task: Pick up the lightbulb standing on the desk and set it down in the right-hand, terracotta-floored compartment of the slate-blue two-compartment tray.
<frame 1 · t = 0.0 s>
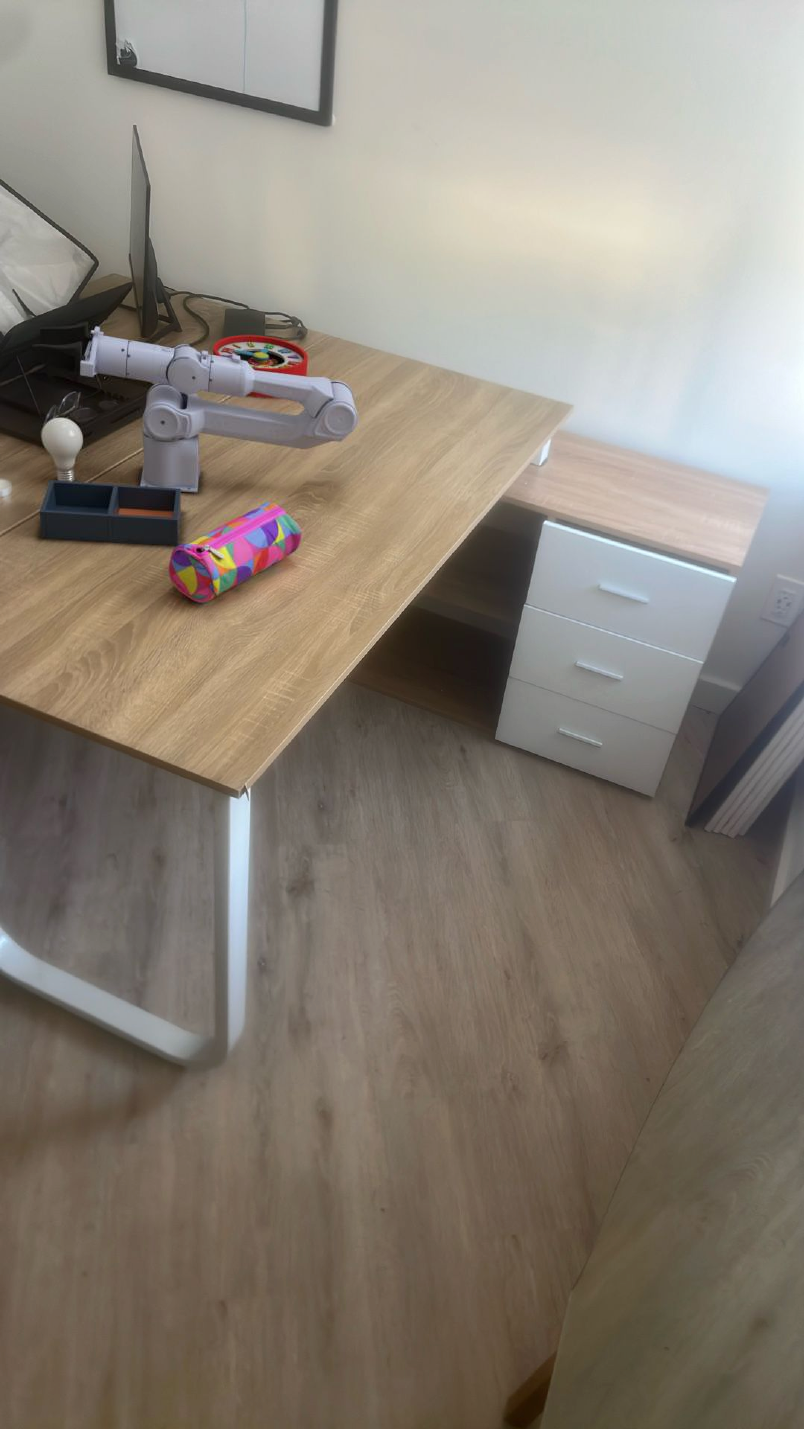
hand: (36, 343, 146), 22 cm above the table, tool horizontal, fingers open, 7 cm apart
pencil case: (235, 578, 143), on the table
organiser: (114, 525, 150), on the table
lightbulb: (66, 483, 158), on the table
toy clock: (259, 379, 205), on the table
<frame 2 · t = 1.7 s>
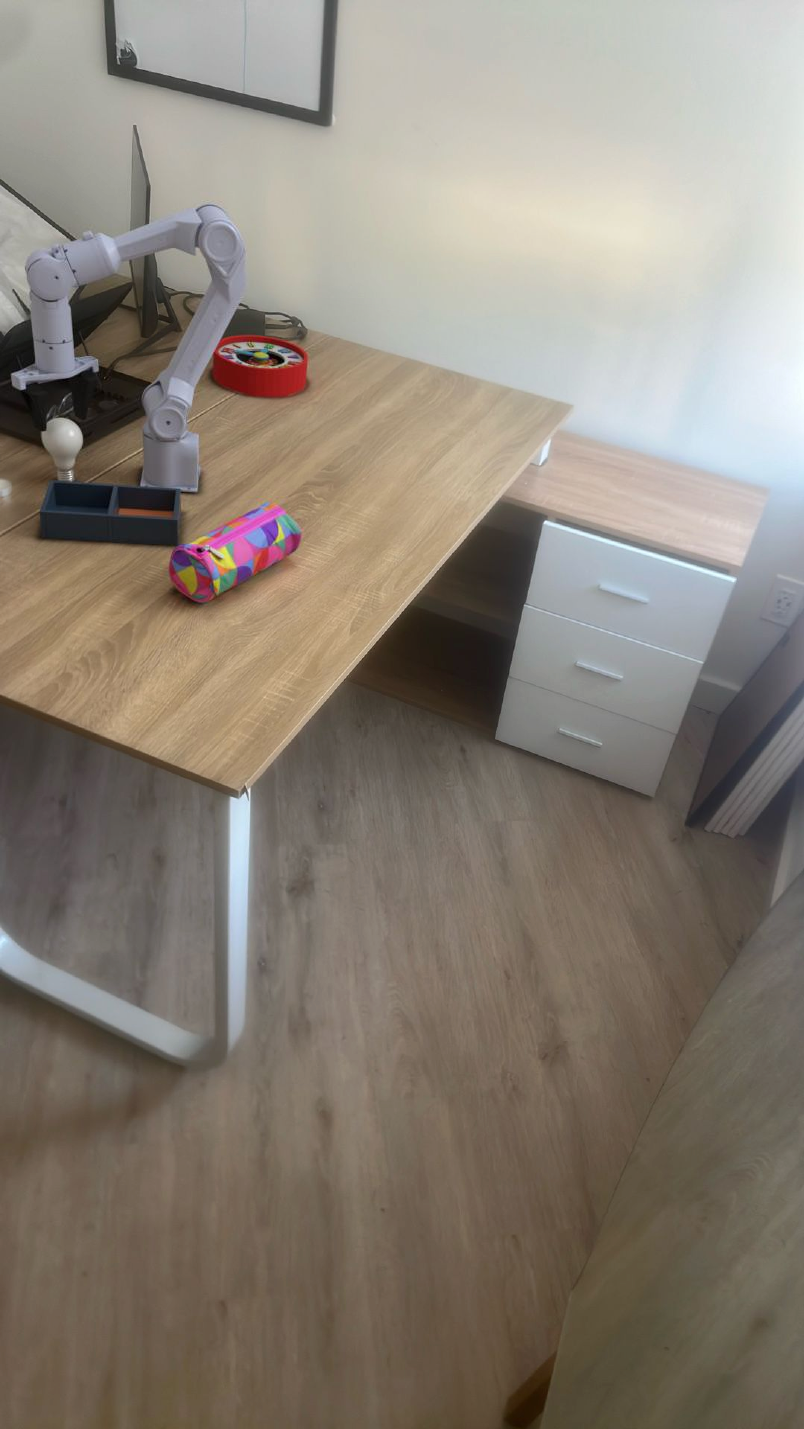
hand: (60, 423, 152), 10 cm above the table, tool pointing down, fingers open, 7 cm apart
nothing on the table moved.
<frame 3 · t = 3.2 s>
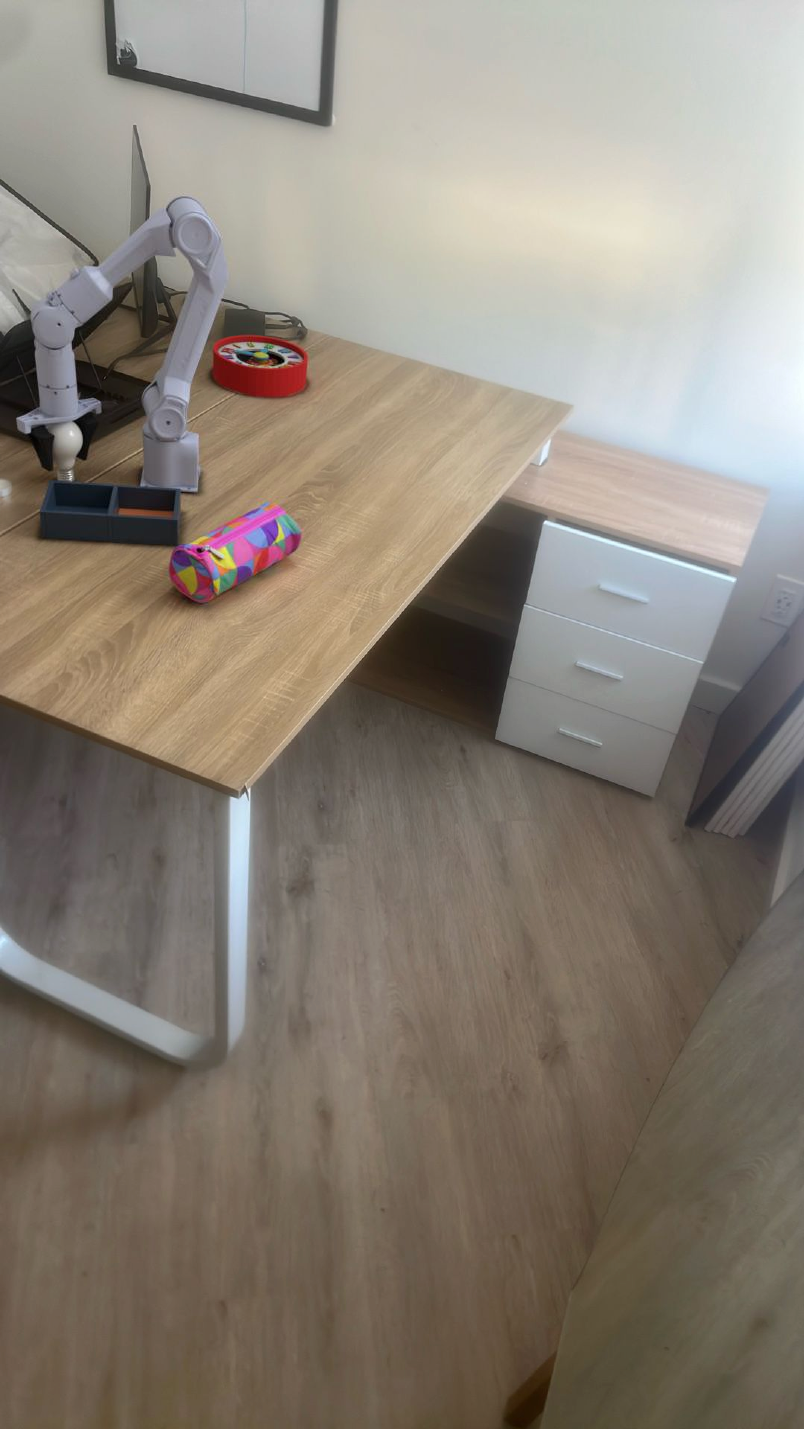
hand: (64, 463, 156), 3 cm above the table, tool pointing down, fingers closed on lightbulb, 6 cm apart
lightbulb: (66, 483, 158), on the table, touching gripper
everything else where it was.
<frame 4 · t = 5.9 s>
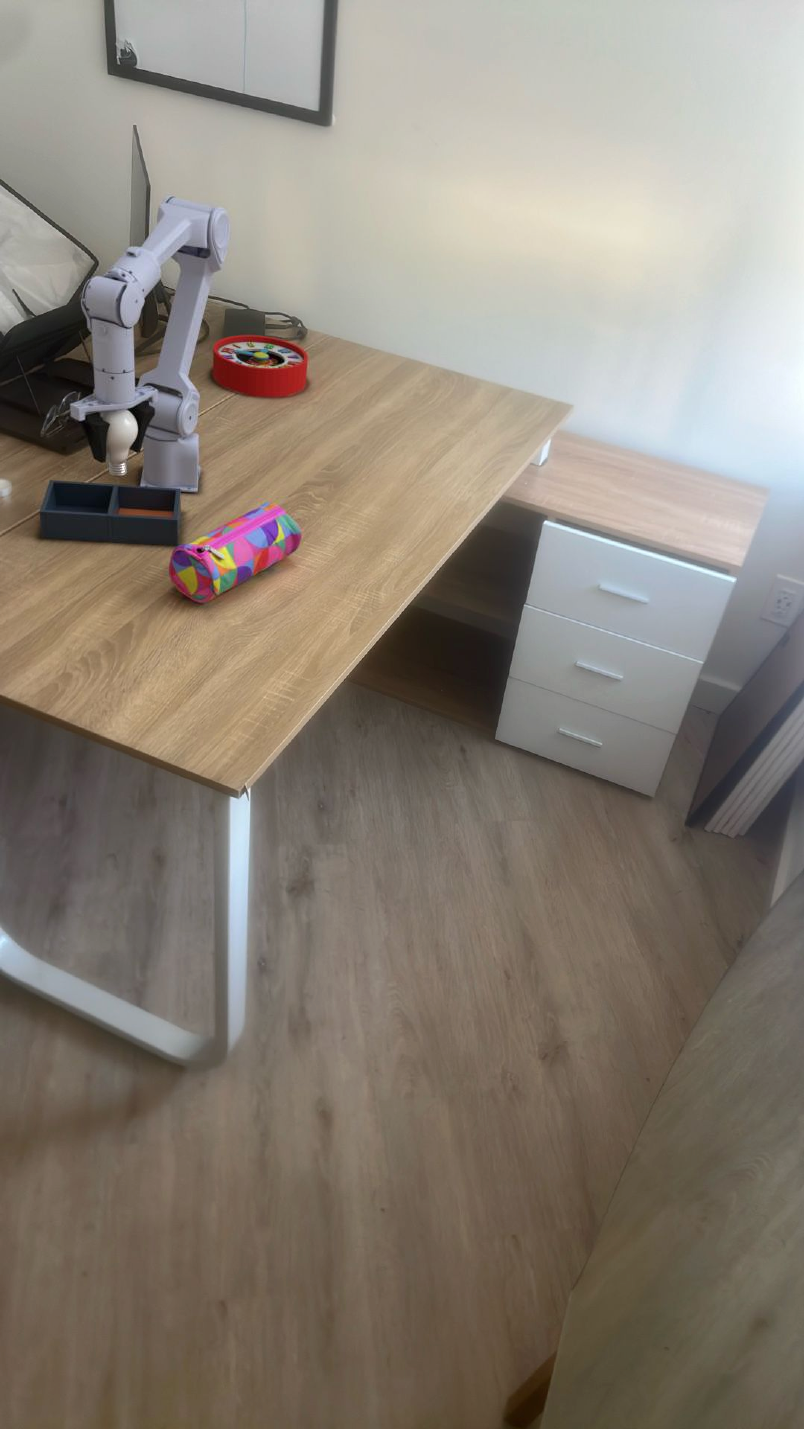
hand: (117, 455, 146), 10 cm above the table, tool pointing down, fingers closed on lightbulb, 6 cm apart
lightbulb: (118, 476, 148), point 7 cm above the table, touching gripper
everything else where it was.
when the fingers open (4 cm above the table, at t = 8.9 s): lightbulb stays where it is, resting on organiser.
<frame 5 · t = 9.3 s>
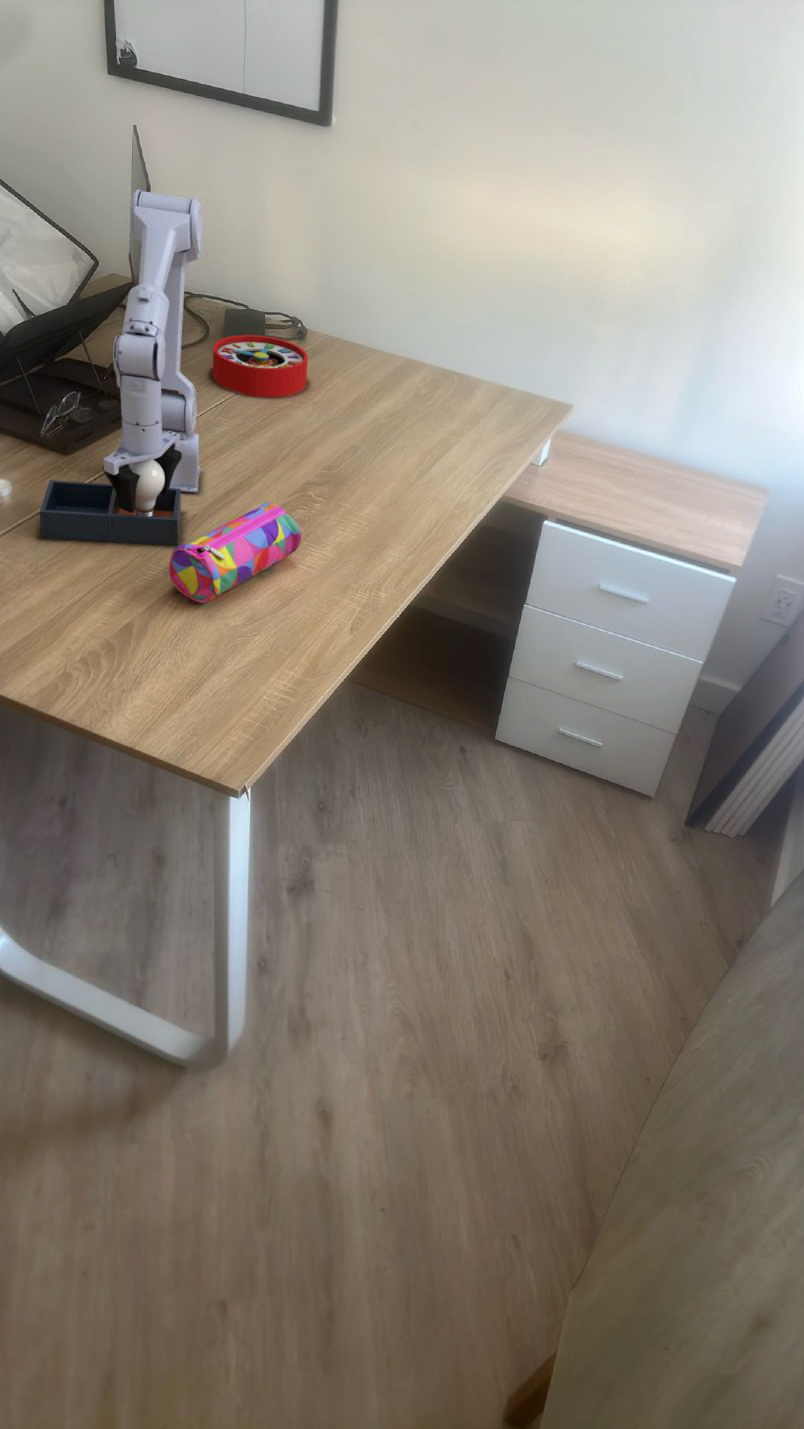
hand: (144, 501, 148), 4 cm above the table, tool pointing down, fingers open, 7 cm apart
lightbulb: (145, 524, 150), point 1 cm above the table, touching organiser
everything else where it was.
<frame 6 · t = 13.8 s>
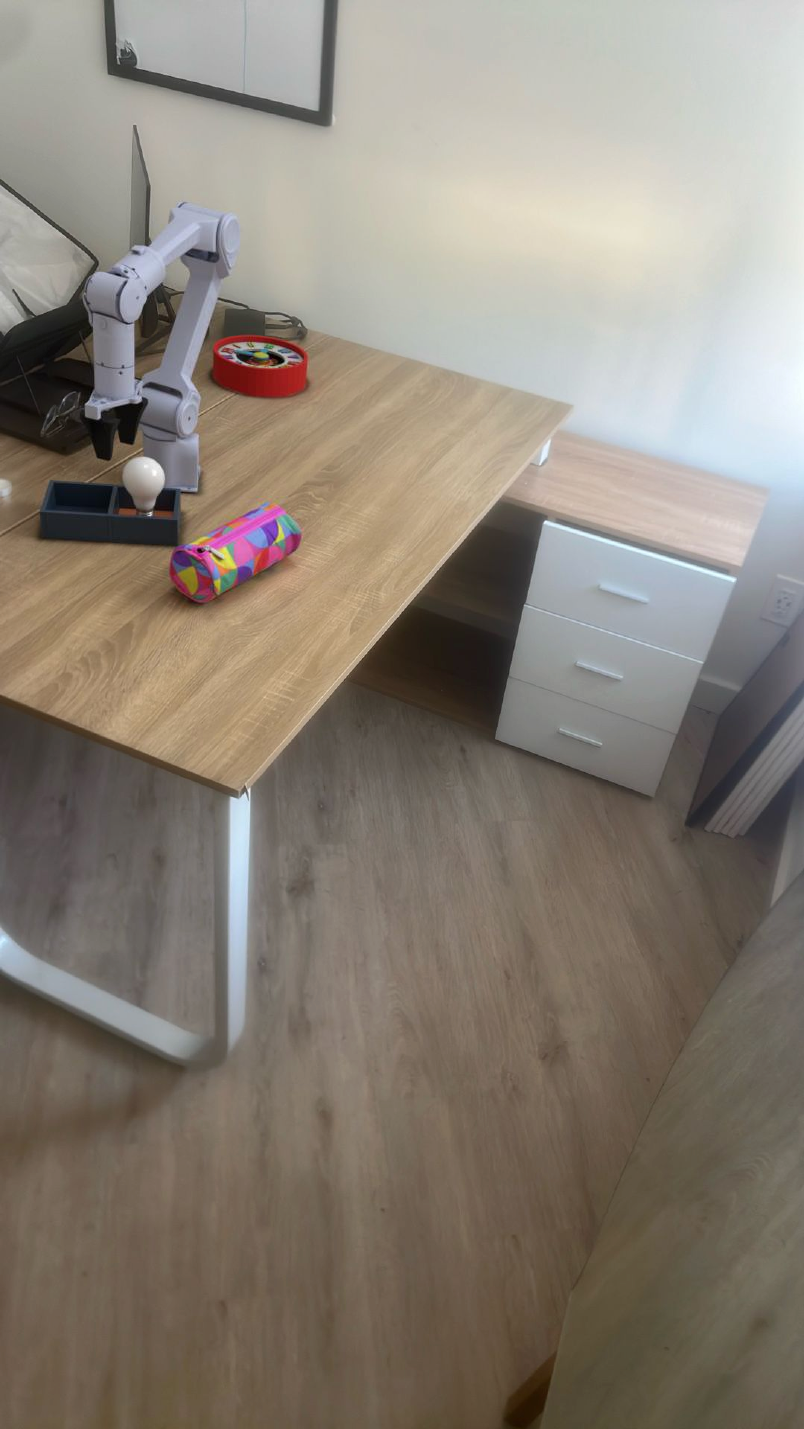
hand: (115, 450, 147), 10 cm above the table, tool pointing down, fingers open, 7 cm apart
nothing on the table moved.
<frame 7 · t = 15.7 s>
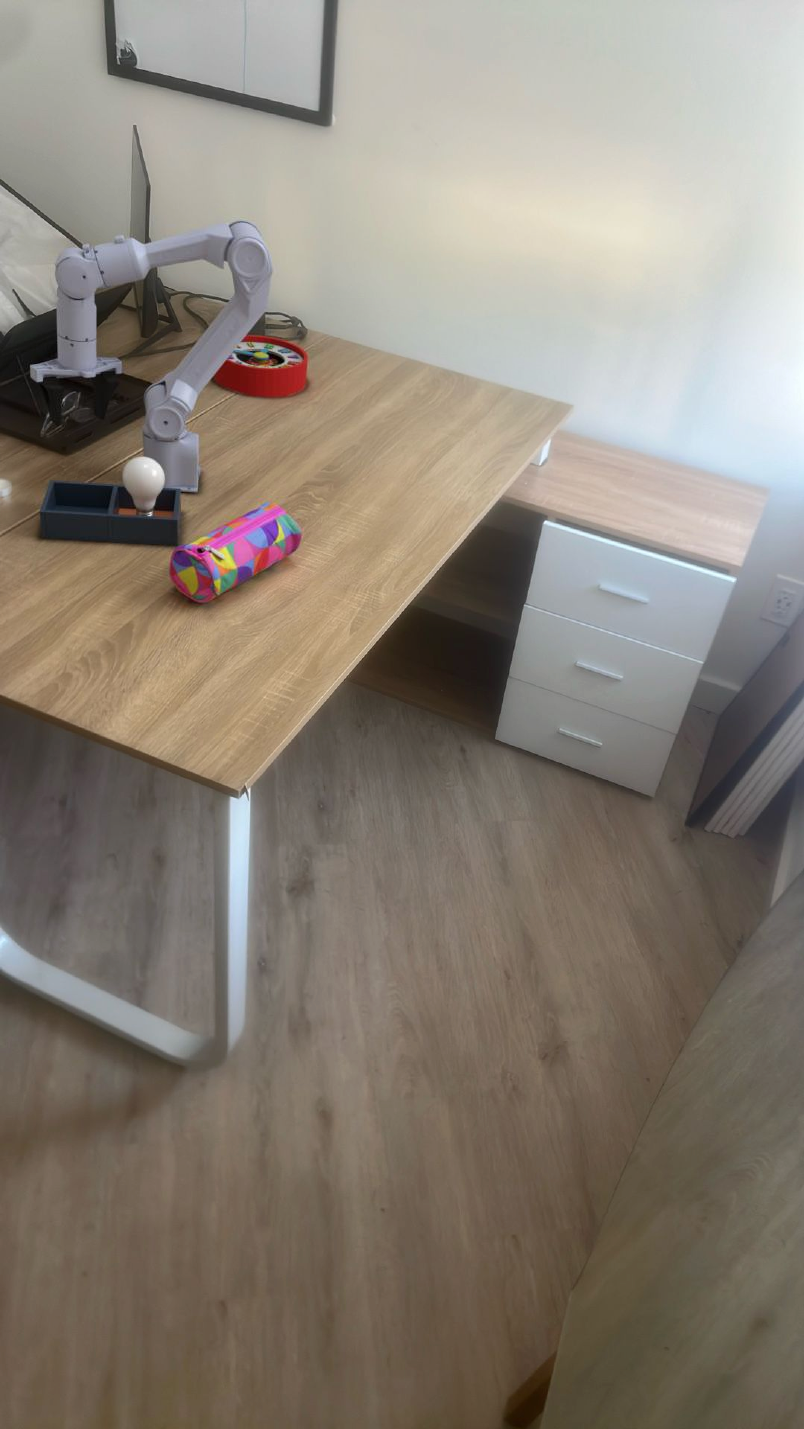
hand: (78, 419, 153), 10 cm above the table, tool pointing down, fingers open, 7 cm apart
nothing on the table moved.
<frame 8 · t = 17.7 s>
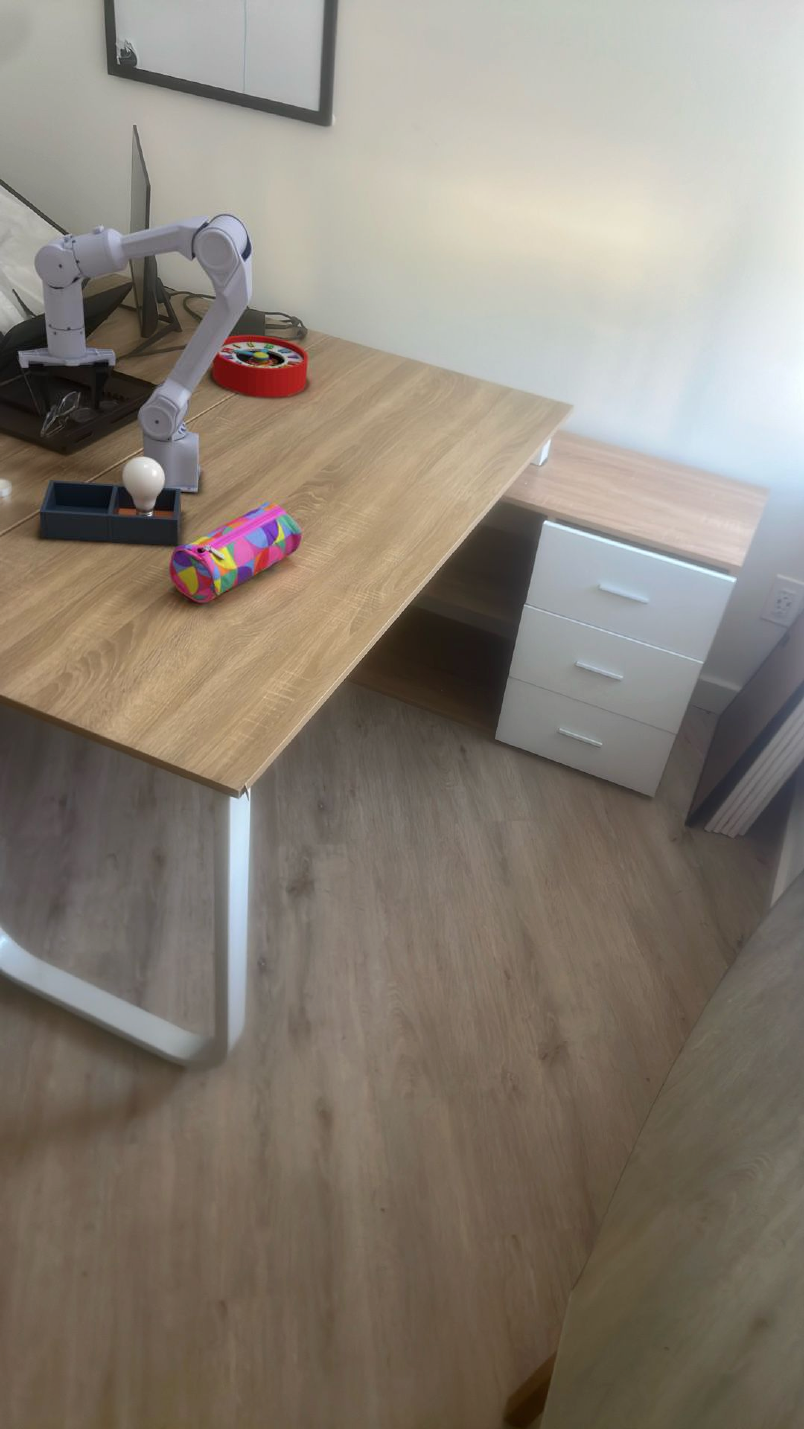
hand: (71, 408, 156), 10 cm above the table, tool pointing down, fingers open, 7 cm apart
nothing on the table moved.
at the end: lightbulb inside the target area in the organiser (0.0 cm from its centre), point 0.5 cm above the organiser's base; the gripper is holding nothing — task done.
